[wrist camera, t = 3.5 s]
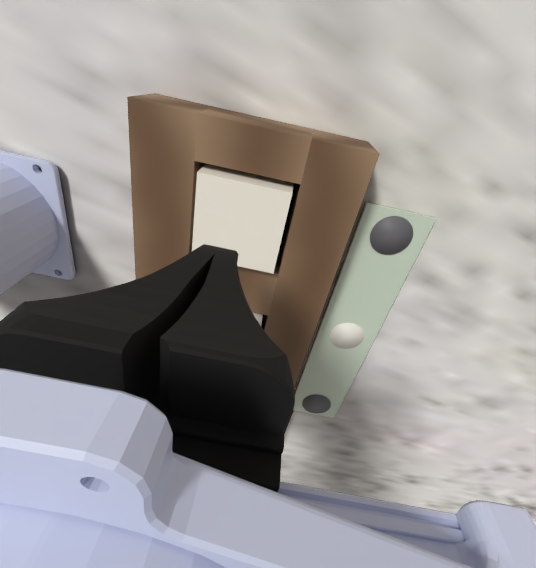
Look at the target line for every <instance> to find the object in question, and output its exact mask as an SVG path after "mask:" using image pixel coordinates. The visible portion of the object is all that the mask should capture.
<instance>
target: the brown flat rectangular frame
mask: <svg viewBox="0 0 536 568" xmlns="http://www.w3.org/2000/svg"><path fill="white" fill-rule="evenodd" d="M128 119H129V141H130V163H131V185H132V207H133V230H134V252H135V274H136V280H137V279H139V278H142V277H144V276H147V275H149V274H152V273H154V272H156V271H158V270H160V269H162V268H164V267H166V266H168V265H170V264H172V263H174V262H175V261H177V260H179V259H180V258H182V257H184V256H185V255H187V254H189V253H190V252H192V240H193V225H194V210H195V195H196V180H197V172H198V171H199V170H200V169H201V168H202V167H203V166H204V165H205V164H211V165H215V166H220V167H224V168H229V169H233V170H238V171H243V172H247V173H252V174H256V175H261V176H265V177H270V178H274V179H279V180H283V181H288V182H292V183H297V187H296V191H295V195H294V199H293V204H292V208H291V212H290V216H289V220H288V224H287V228H286V233H285V237H284V241H283V245H282V249H279V252H278V256H277V261H276V265H275V269H274V273H273V274H272V273H268V272H263V271H258V270H253V269H249V268H244V267H239V266H237V267H238V274H239V278H240V282H241V286H242V289H243V292H244V295H245V298H246V300H247V302H248V305H249V307H250V309H251V311H252V312H253V313H258V314H263V315H265V319H264V324H263V330H264V331H265V333H266V334H267V335H268V336H269V338H270V339H271V340H272V341H273V342H274V343H275V344H276V345H277V346H278V347H279V348H280V349H281V350H282V351H283V352H284V353H285V354H286V355H287V357H288V361H289V365H290V369H291V373H292V378H293V384H294V387H295V384H296V381H297V379H298V376H299V373H300V371H301V368H302V365H303V362H304V360H305V357H306V354H307V351H308V349H309V346H310V343H311V340H312V338H313V335H314V332H315V329H316V327H317V324H318V321H319V318H320V316H321V313H322V310H323V307H324V305H325V302H326V299H327V297H328V294H329V291H330V288H331V286H332V283H333V280H334V277H335V275H336V272H337V269H338V266H339V264H340V261H341V258H342V255H343V253H344V250H345V247H346V244H347V242H348V239H349V236H350V234H351V231H352V228H353V225H354V223H355V220H356V217H357V214H358V212H359V209H360V206H361V203H362V201H363V198H364V195H365V192H366V190H367V187H368V184H369V181H370V179H371V176H372V173H373V170H374V168H375V165H376V162H377V160H378V157H379V153H378V152H377V151H376V150H375V149H374V147H373V146H372V145H371V144H370V143H369V142H367V141H362V140H358V139H354V138H349V137H345V136H340V135H336V134H331V133H327V132H323V131H318V130H314V129H309V128H305V127H301V126H296V125H292V124H287V123H283V122H278V121H274V120H270V119H265V118H261V117H256V116H252V115H247V114H243V113H239V112H234V111H230V110H225V109H221V108H217V107H212V106H208V105H203V104H199V103H194V102H190V101H186V100H181V99H177V98H172V97H168V96H163V95H159V94H147V95H139V96H131V97H128Z"/></svg>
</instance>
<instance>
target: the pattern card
mask: <svg viewBox="0 0 536 568" xmlns="http://www.w3.org/2000/svg"><path fill="white" fill-rule="evenodd" d="M435 221H436V218H435V217H432V216H427V215H422V214H418V213H413V212H409V211H404V210H400V209H395V208H391V207H386V206H382V205H377V204H373V203H368V202H366V203H365V206H364V209H363V211H362V214H361V217H360V219H359V222H358V225H357V227H356V230H355V233H354V236H353V238H352V241H351V244H350V246H349V249H348V252H347V254H346V257H345V260H344V262H343V265H342V268H341V271H340V273H339V276H338V279H337V281H336V284H335V287H334V289H333V292H332V295H331V297H330V300H329V303H328V305H327V308H326V311H325V314H324V316H323V319H322V322H321V324H320V327H319V330H318V332H317V335H316V338H315V340H314V343H313V346H312V348H311V351H310V354H309V357H308V359H307V362H306V365H305V367H304V370H303V373H302V375H301V378H300V381H299V383H298V386H297V389H296V391H295V404H294V411H299V412H304V413H309V414H314V415H319V416H324V417H329V418H335V416H336V414H337V412H338V410H339V408H340V406H341V404H342V402H343V400H344V398H345V396H346V394H347V392H348V390H349V388H350V386H351V384H352V382H353V381H354V379H355V377H356V375H357V373H358V371H359V369H360V367H361V365H362V363H363V361H364V359H365V357H366V355H367V353H368V351H369V349H370V347H371V345H372V344H373V342H374V340H375V338H376V336H377V334H378V332H379V330H380V328H381V326H382V324H383V322H384V320H385V318H386V316H387V314H388V312H389V310H390V308H391V306H392V305H393V303H394V301H395V299H396V297H397V295H398V293H399V291H400V289H401V287H402V285H403V283H404V281H405V279H406V277H407V275H408V273H409V271H410V269H411V268H412V266H413V264H414V262H415V260H416V258H417V256H418V254H419V252H420V250H421V248H422V246H423V244H424V242H425V240H426V238H427V236H428V234H429V232H430V231H431V229H432V227H433V225H434V223H435Z"/></svg>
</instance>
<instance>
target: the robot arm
mask: <svg viewBox="0 0 536 568" xmlns="http://www.w3.org/2000/svg"><path fill="white" fill-rule="evenodd" d="M37 165H39V166H40V167H41V169H42V172H41V171H40V170H39V169H38V167H37ZM237 261H238V253H237V251H235V250H230V249H225V248H221V247H216V246H211V245H206V244H203V245H202V246H200V247H198V248H197V249H195V250H193V251H192V252H190V253H189V254H187V255H185V256H184V257H182V258H180V259H179V260H177V261H175V262H174V263H172V264H170V265H168V266H166V267H164V268H162V269H160V270H158V271H156V272H154V273H152V274H149V275H147V276H144V277H142V278H139V279H137V280H134V281H131V282H128V283H125V284H121V285H118V286H114V287H111V288H107V289H104V290H100V291H95V292H91V293H86V294H81V295H75V296H70V297H63V298H55V299H47V300H38V301H29V302H24V303H22V304H21V305H20V306H18V307H17V308H16V309H15V310H14V311H12V312H11V313H10V314H9V315H7V316H6V317H5V318H4V319H3V320H1V321H0V568H536V526H535V525H534V523H533V521H532V519H531V517H530V515H529V513H528V511H527V510H526V509H524V508H521V507H516V506H511V505H505V504H500V503H495V502H489V501H481V500H477V501H471V502H469V503H467V504H465V505H464V506H462V507H461V508H460V510H459V511H458V512H457V514H453V513H447V512H442V511H436V510H431V509H426V508H420V507H415V506H409V505H404V504H398V503H393V502H388V501H382V500H377V499H371V498H366V497H361V496H355V495H350V494H344V493H339V492H333V491H328V490H323V489H317V488H312V487H306V486H301V485H296V484H290V483H285V482H280V469H281V454H282V452H283V448H284V434H285V431H286V428H287V426H288V423H289V421H290V418H291V415H292V413H293V410H294V404H295V392H294V384H293V378H292V373H291V369H290V365H289V361H288V357H287V355H286V354H285V353H284V352H283V351H282V350H281V349H280V348H279V347H278V346H277V345H276V344H275V343H274V342H273V341H272V340H271V339H270V338H269V336H268V335H267V334H266V333H265V331H264V330H263V328H262V327H261V325H260V324H259V322H258V321H257V319H256V318H255V316H254V314H253V313H252V311H251V309H250V307H249V305H248V302H247V300H246V298H245V295H244V292H243V289H242V286H241V282H240V278H239V274H238V267H237ZM59 270H60V271H61V272H62V273H61V272H60V271H59ZM30 273H36V274H41V275H46V276H51V277H55V278H60V279H65V280H71V279H73V278H74V277H75V275H76V272H75V266H74V260H73V254H72V248H71V242H70V236H69V230H68V224H67V218H66V212H65V206H64V200H63V194H62V188H61V182H60V176H59V171H58V168H57V167H56V165H55V164H54V163H52V162H50V161H47V160H43V159H38V158H34V157H29V156H24V155H20V154H15V153H11V152H6V151H2V150H0V295H1V294H2V293H3V292H5V291H6V290H8V289H9V288H10V287H12V286H13V285H14V284H16V283H17V282H19V281H20V280H21V279H23V278H24V277H25V276H27V275H28V274H30Z"/></svg>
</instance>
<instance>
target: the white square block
mask: <svg viewBox="0 0 536 568" xmlns="http://www.w3.org/2000/svg"><path fill="white" fill-rule="evenodd" d="M292 193H293V183H292V182H288V181H283V180H279V179H274V178H270V177H265V176H261V175H256V174H252V173H247V172H243V171H238V170H233V169H229V168H224V167H220V166H215V165H211V164H205V165H204V166H203V167H202V168H201V169H200V170H199V171H198V172H197V180H196V195H195V210H194V225H193V240H192V251H193V250H195V249H197V248H198V247H200V246H202V245H203V244H206V245H211V246H216V247H221V248H225V249H230V250H235V251H237V253H238V261H237V266H239V267H244V268H249V269H253V270H258V271H263V272H268V273H272V274H273V273H274V269H275V265H276V261H277V256H278V252H279V248H280V244H281V240H282V235H283V231H284V227H285V223H286V218H287V214H288V210H289V206H290V202H291V197H292Z"/></svg>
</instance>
